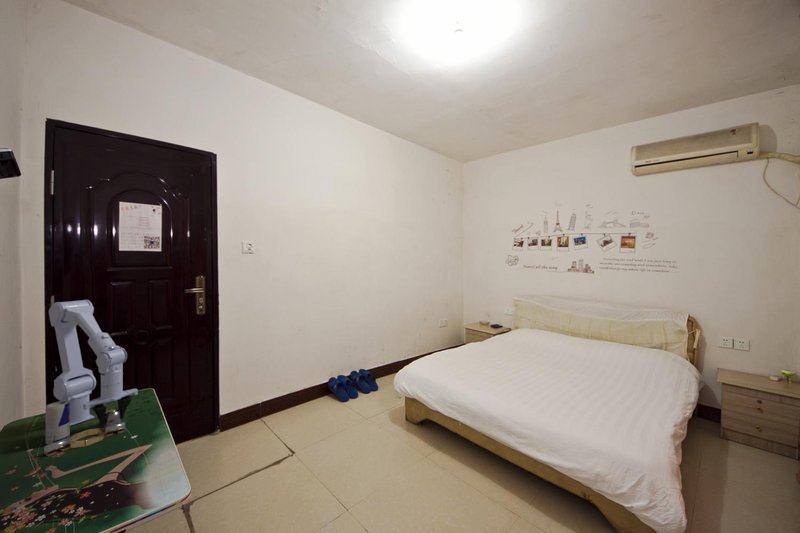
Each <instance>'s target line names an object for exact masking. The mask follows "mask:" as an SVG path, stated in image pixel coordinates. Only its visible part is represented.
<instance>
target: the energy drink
mask: <svg viewBox="0 0 800 533" xmlns="http://www.w3.org/2000/svg"><path fill="white" fill-rule="evenodd" d="M70 437H71V426H70V403H69V401H60V400H58V401H56V402H52V403H49V404H47V405H46V407H45V444H46V445H50V444H53V443H56V442H58V441H61V440H64V439H67V438H70Z"/></svg>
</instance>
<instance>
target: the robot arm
mask: <svg viewBox="0 0 800 533" xmlns="http://www.w3.org/2000/svg"><path fill="white" fill-rule="evenodd" d="M94 311H95V307H94V306H93V303H92V302H91V301H90V300H89V299H83V300H72V301H71V300H70V301H61V302H60V301H57V302H54V303H52V305H51V306H50V307H49V310H48V315H49V321H50V325H51V326H52V327H54V331H55V336H56V342H57V346H58V352H59V357H60V363H61V368H62V373H61V374H60V375H58V376H57V377H56V378H55V379H54V380H53V382H54V383H53V385H54V386H53V390H52V391H53V396H54V398H56V399H58V401H69V403H70V427H71V426H75V425H76V424H77V425H78V424H80V423H83V422H86V421H89V420H92V419H95V416H94V415H92V414H90V409H92V410H93V411H94V413H95V415H96V416H97V418H98V419H97V420H98V422H99V425H100V426H102V427H103V426H104V425H105V423H106V420H105V414H106V411H107V406H105V404H108V403H112V402H115V401H117V409H120V415H121V420H123V419H124V418H125V413H126V410H127V409H128V406H129V405H130V403H131V402H132V397H131V396H137V395H138V394H139V393H138V392H139V390H138V389H137V388H132V389H126V390H123V387H124V385H123V384H124V383H123V381H124V380H123V377H124V376H123V375H124V372H123V369H124V368H123V364H124V363H126V361H127V360H128V353H127V351H126V350H125V348H123V347H121V346H119V345H117V344H116V343H115V342H114V340H113V339H112V337H111V335H110V334H109V333H108V332H103V331H102V330H101V328H100V326H99V324H98V322H97V321H96V319H95V316H94V315H93V314H94ZM77 325H78V326H79V327H80V328H81V329H82V331H84V333H85V334H86V335H87V337H89V339H88V340H87V343H88V346H90V348H91V349H92V351H93V352H94V354H95V355H96V357H97V358H96V359H95V363H96V366H97V367H98V372H99V374H100V396H99V397H97V398H94V399H92V400H90V394H92V391H93V390H95V388H96V385H97V380H96V377H95V376H94V373H93V370H91V369H89V368H86V367H84V365H83V360H82V359H83V358H82V354H81V348H80V344H79V343H80V342H79V338H78V332H77Z"/></svg>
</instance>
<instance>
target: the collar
mask: <svg viewBox="0 0 800 533" xmlns="http://www.w3.org/2000/svg"><path fill="white" fill-rule="evenodd" d="M106 434H107V433H106V432H105V429H104V428H103V427H98V428H91V429H86V430H83V431H80V432H78V433H73V435H70V437H69V439H70V443H69V445H68V446H70V449H76V448H83V447H87V446H90V445H92V444H95V443H98V442H101V441H102V440H104V438H106ZM88 436H92V437H90V438H87V439H82V438H86V437H88ZM79 439H82V440H79Z"/></svg>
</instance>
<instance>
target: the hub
mask: <svg viewBox="0 0 800 533" xmlns="http://www.w3.org/2000/svg"><path fill="white" fill-rule="evenodd" d="M105 420H106V423H105V425H104V426H102V428H104V429H105V427H107V426H111V425H114V424H118V423H122V422H121V421H122V419H121V415H120V409H118V408H111V409H109V410H106V414H105Z"/></svg>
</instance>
